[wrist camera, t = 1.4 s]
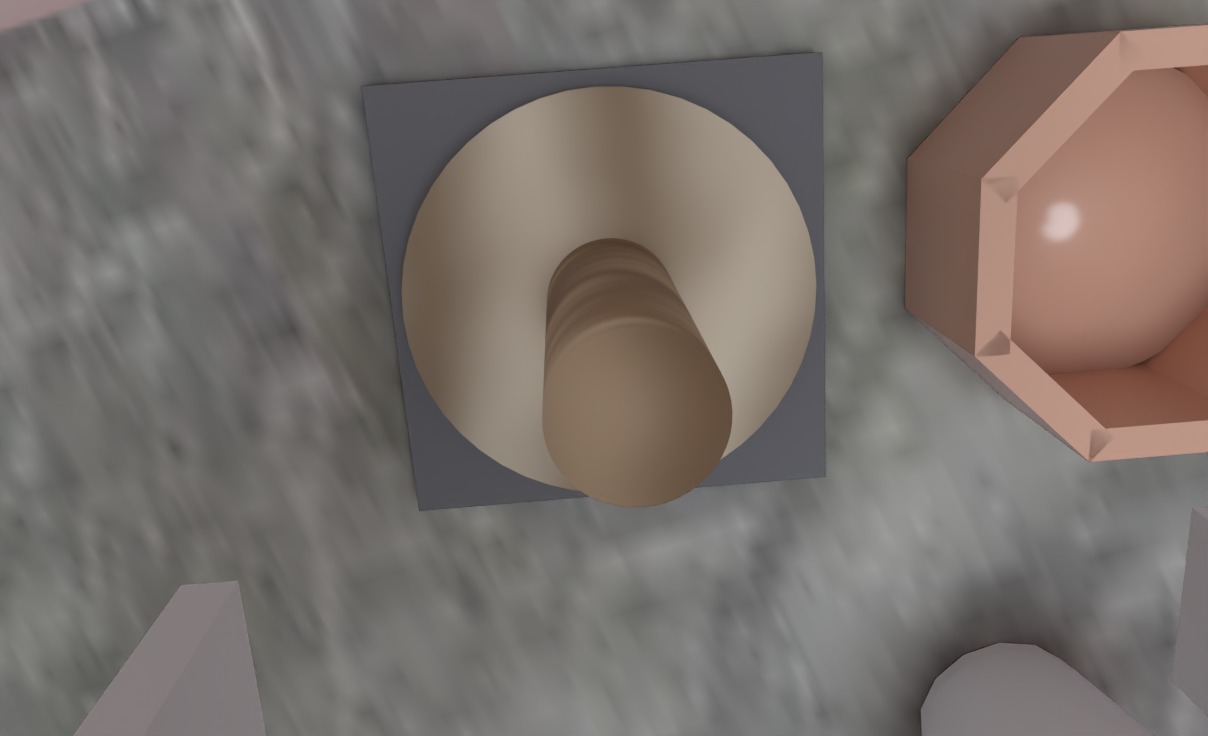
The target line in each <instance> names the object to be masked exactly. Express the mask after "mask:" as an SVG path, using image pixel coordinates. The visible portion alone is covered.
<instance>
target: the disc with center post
mask: <svg viewBox="0 0 1208 736" xmlns="http://www.w3.org/2000/svg"><path fill="white" fill-rule="evenodd" d="M815 302H816V273H815V260H814V255H813V250H812V245H811V241H810V236H809V232H808V229H807V226H806V224H805V221H804V218H803V215H802V212H801V210H800V207H799V205H798V203H797V201H796V199H795V198H794V196H793V194H792V192H791V190H790V188H789V186H788V184H787V183H786V181H785V180H784V178H783V177H782V176H781V174H780V173H779V171H778V170H777V169H776V167H775V166H774V164H773V163H772V162H771V160H770V159H769V158H768V157H767V156H766V155H765V154H764V153H763V152H762V151H761V150H760V149H759V148H758V147H757V146H756V144H755V143H754V142H753V141H752V140H750V139H749V138H748V137H747V136H745V135H744V134H743V133H742V132H740V131H739V130H738V129H737V128H735V127H734V126H733V125H732V124H730V123H729V122H727V121H725V120H724V119H722V118H720V117H719V116H717V115H715V114H714V113H712V112H710V111H709V110H707V109H705V108H703V107H700V106H698V105H696V104H693V103H691V102H688V101H686V100H684V99H681V98H678V97H675V96H671V95H667V94H664V93H660V92H656V91H653V90H648V89H641V88H633V87H625V86H593V87H586V88H579V89H572V90H566V91H562V92H559V93H555V94H552V95H548V96H545V97H541V98H539V99H536V100H534V101H532V102H529V103H527V104H525V105H523V106H520V107H518V108H516V109H514V110H512V111H511V112H509V113H507V114H506V115H504V116H502V117H501V118H499V119H497V120H496V121H494V122H493V123H491V124H490V125H488V126H487V127H486V128H485V129H483V130H482V131H481V132H480V133H479V134H477V135H476V136H475V137H474V138H472V139H471V140H470V141H469V142H468V143H467V144H466V145H465V146H464V147H463V148H462V149H461V150H460V151H459V152H458V153H457V154H456V155H455V156H454V158H453V159H452V160H451V161H450V162H449V163H448V164H447V165H446V167H445V168H444V170H443V171H442V172H441V174H440V175H439V177H438V178H437V179H436V181H435V182H434V184H433V185H432V187H431V188H430V190H429V192H428V194H427V196H426V198H425V200H424V202H423V204H422V206H421V208H420V209H419V211H418V214H417V217H416V220H415V222H414V225H413V228H412V231H411V234H410V236H409V240H408V245H407V250H406V255H405V259H404V264H403V277H402V307H403V319H404V324H405V329H406V334H407V339H408V344H409V347H410V350H411V353H412V356H413V359H414V362H415V365H416V367H417V370H418V372H419V374H420V376H421V378H422V380H423V382H424V384H425V386H426V388H427V390H428V392H429V393H430V395H431V396H432V398H433V399H434V401H435V402H436V404H437V405H438V407H439V408H440V410H441V411H442V413H443V414H444V415H445V416H446V417H447V419H448V420H449V421H450V422H451V423H452V424H453V425H454V427H455V428H456V429H457V430H458V431H459V432H460V433H461V434H462V435H463V436H464V437H465V438H467V439H468V440H469V441H470V442H471V443H472V444H473V445H475V446H476V447H477V448H478V449H479V450H480V451H482V452H483V453H485V454H486V455H488V456H489V457H491V458H492V459H494V460H495V461H497V462H498V463H500V464H501V465H503V466H505V467H507V468H509V469H511V470H513V471H515V472H517V473H519V474H521V475H523V476H525V477H528V478H531V479H534V480H537V481H539V482H542V483H545V484H548V485H552V486H557V487H561V488H566V489H570V490H576V491H581V492H583V493H584V494H586V495H588V496H590V497H592V498H594V499H596V500H599V501H601V502H604V503H607V504H611V505H616V506H621V507H648V506H655V505H659V504H663V503H666V502H669V501H672V500H674V499H677V498H679V497H681V496H682V495H684V494H686V493H688V492H690V491H691V490H692V489H694V488H695V487H696V486H698V485H699V484H700V483H701V482H702V481H703V480H705V479H706V478H707V477H708V476H709V474H710V473H711V472H712V471H713V470H714V468H715V467H716V465H717V464H718V462H719V461H720V460H721V459H722V458H724V457H725V456H726V455H728V454H729V453H730V452H732V451H733V450H735V449H736V448H737V447H739V446H740V445H741V444H742V443H744V442H745V441H746V440H747V439H748V438H749V437H750V436H751V435H752V434H753V433H754V432H755V431H756V430H758V429H759V428H760V427H761V425H762V424H763V423H764V422H765V421H766V419H767V418H768V417H769V416H770V415H771V414H772V412H773V411H774V410H775V409H776V408H777V406H778V405H779V403H780V401H781V400H782V398H783V397H784V395H785V394H786V392H787V391H788V389H789V387H790V386H791V384H792V382H793V380H794V378H795V376H796V373H797V371H798V369H799V367H800V365H801V363H802V360H803V357H804V354H805V351H806V348H807V345H808V342H809V339H810V335H811V330H812V325H813V319H814V314H815Z"/></svg>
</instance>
